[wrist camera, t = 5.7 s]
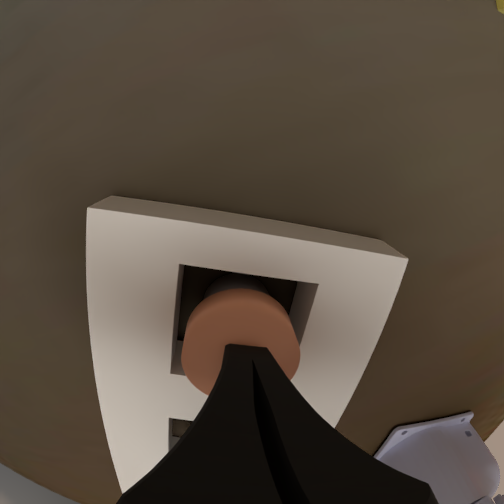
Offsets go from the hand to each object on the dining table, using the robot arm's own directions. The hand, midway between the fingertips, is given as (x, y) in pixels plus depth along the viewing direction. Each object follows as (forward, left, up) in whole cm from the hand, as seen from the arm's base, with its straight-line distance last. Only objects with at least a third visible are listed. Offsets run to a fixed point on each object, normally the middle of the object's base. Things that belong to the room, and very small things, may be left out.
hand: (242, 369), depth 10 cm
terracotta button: (0, 0, -4) cm, 4 cm away
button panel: (0, +8, -4) cm, 9 cm away
